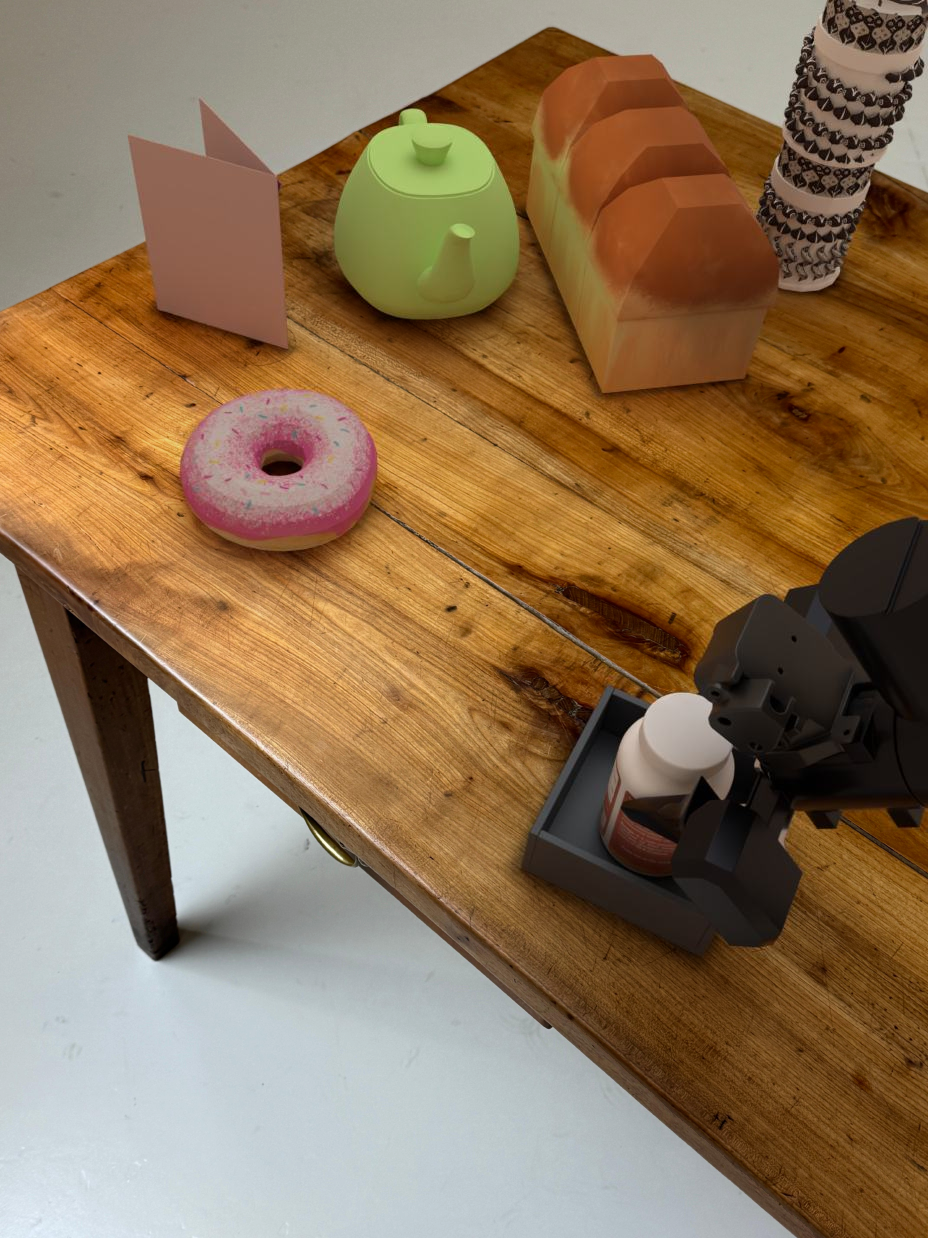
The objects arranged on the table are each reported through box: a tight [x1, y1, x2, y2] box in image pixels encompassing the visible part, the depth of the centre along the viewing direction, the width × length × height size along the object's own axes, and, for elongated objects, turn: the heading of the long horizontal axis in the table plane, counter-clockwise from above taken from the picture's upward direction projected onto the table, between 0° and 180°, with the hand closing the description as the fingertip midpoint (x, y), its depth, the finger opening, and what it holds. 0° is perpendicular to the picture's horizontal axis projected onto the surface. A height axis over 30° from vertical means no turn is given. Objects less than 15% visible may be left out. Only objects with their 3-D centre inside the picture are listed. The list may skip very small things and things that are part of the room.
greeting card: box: [127, 96, 289, 350], centre depth 87 cm, size 11×7×15 cm, turn 35°
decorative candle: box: [754, 0, 928, 293], centre depth 93 cm, size 9×9×25 cm
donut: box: [179, 388, 378, 552], centre depth 81 cm, size 14×13×5 cm
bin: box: [520, 684, 758, 958], centre depth 67 cm, size 11×11×4 cm
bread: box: [525, 53, 780, 394], centre depth 93 cm, size 25×12×15 cm, turn 13°
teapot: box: [333, 108, 521, 320], centre depth 92 cm, size 22×15×13 cm
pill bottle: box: [599, 692, 734, 877], centre depth 64 cm, size 6×6×11 cm
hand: (648, 763), depth 63 cm, fingers closed on pill bottle, 6 cm apart
